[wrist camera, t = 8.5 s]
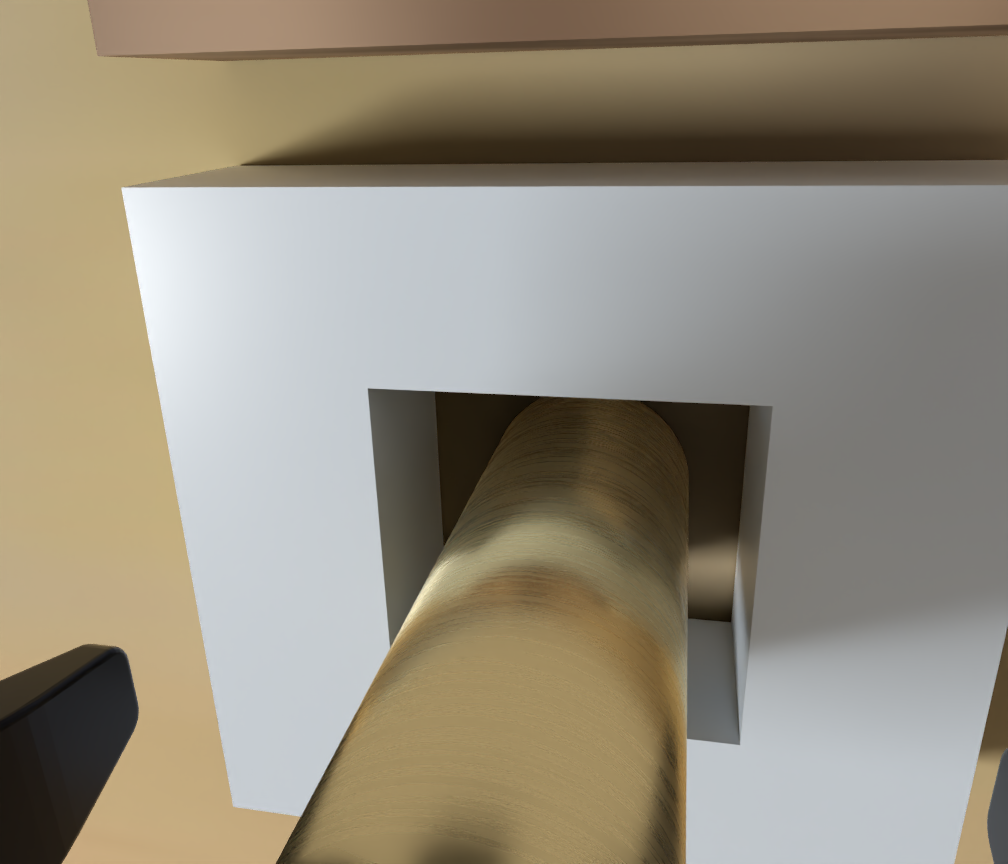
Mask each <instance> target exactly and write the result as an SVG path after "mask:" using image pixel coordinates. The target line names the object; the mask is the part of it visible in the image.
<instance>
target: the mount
mask: <svg viewBox="0 0 1008 864" xmlns="http://www.w3.org/2000/svg"><path fill="white" fill-rule="evenodd" d="M88 5H89V11H90V16H91V22H92V27H93V33H94V39H95V44H96V50H97V55H98V56H110V57H136V58H161V59H187V60H213V61H234V60H264V59H295V58H326V57H356V56H387V55H417V54H448V53H479V52H509V51H540V50H571V49H601V48H632V47H662V46H693V45H724V44H754V43H785V42H816V41H846V40H877V39H907V38H938V37H969V36H999V35H1008V0H88Z"/></svg>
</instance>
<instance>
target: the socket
mask: <svg viewBox="0 0 1008 864" xmlns="http://www.w3.org/2000/svg"><path fill="white" fill-rule="evenodd" d="M122 193H123V199H124V204H125V210H126V216H127V221H128V227H129V232H130V238H131V243H132V249H133V254H134V260H135V265H136V271H137V276H138V282H139V287H140V293H141V299H142V304H143V310H144V315H145V321H146V326H147V332H148V337H149V343H150V348H151V354H152V359H153V365H154V370H155V376H156V381H157V387H158V393H159V398H160V404H161V409H162V415H163V420H164V426H165V431H166V437H167V442H168V448H169V453H170V459H171V464H172V470H173V475H174V481H175V487H176V492H177V498H178V503H179V509H180V514H181V520H182V525H183V531H184V536H185V542H186V547H187V553H188V558H189V564H190V570H191V575H192V581H193V586H194V592H195V597H196V603H197V608H198V614H199V619H200V625H201V630H202V636H203V641H204V647H205V652H206V658H207V664H208V669H209V675H210V680H211V686H212V691H213V697H214V702H215V708H216V713H217V719H218V724H219V730H220V735H221V741H222V747H223V752H224V758H225V763H226V769H227V774H228V780H229V785H230V791H231V796H232V802H233V807H239V808H246V809H252V810H259V811H266V812H273V813H280V814H287V815H294V816H301V815H302V813H303V812H304V810H305V808H306V806H307V804H308V802H309V800H310V798H311V796H312V795H313V793H314V791H315V789H316V787H317V785H318V783H319V781H320V780H321V778H322V776H323V774H324V772H325V770H326V768H327V766H328V764H329V763H330V761H331V759H332V757H333V755H334V753H335V751H336V749H337V748H338V746H339V744H340V742H341V740H342V738H343V736H344V734H345V732H346V731H347V729H348V727H349V725H350V723H351V721H352V719H353V717H354V715H355V714H356V712H357V710H358V708H359V706H360V704H361V702H362V700H363V699H364V697H365V695H366V693H367V691H368V689H369V687H370V685H371V683H372V682H373V680H374V678H375V676H376V674H377V672H378V670H379V668H380V666H381V665H382V663H383V661H384V659H385V657H386V655H387V653H388V651H389V650H390V648H391V646H392V644H393V642H394V640H395V638H396V636H397V634H398V633H399V631H400V629H401V627H402V625H403V623H404V621H405V619H406V618H407V616H408V614H409V612H410V610H411V608H412V606H413V604H414V602H415V601H416V599H417V597H418V595H419V593H420V591H421V589H422V587H423V585H424V584H425V582H426V580H427V578H428V576H429V574H430V572H431V570H432V569H433V567H434V565H435V563H436V561H437V559H438V557H439V555H440V553H441V552H442V550H443V548H444V545H443V528H442V510H441V492H440V474H439V456H438V439H437V421H436V403H435V391H439V392H462V393H484V394H507V395H530V396H553V397H575V398H598V399H621V400H644V401H666V402H689V403H712V404H735V405H750V411H749V422H748V434H747V445H746V457H745V468H744V480H743V492H742V503H741V515H740V526H739V538H738V549H737V561H736V573H735V584H734V596H733V607H732V619H731V622H722V621H711V620H699V619H688V650H687V782H686V864H954V861H955V857H956V853H957V848H958V844H959V839H960V835H961V831H962V826H963V822H964V817H965V813H966V808H967V804H968V800H969V795H970V791H971V786H972V782H973V777H974V773H975V769H976V764H977V760H978V755H979V751H980V746H981V742H982V738H983V733H984V729H985V724H986V720H987V715H988V711H989V707H990V702H991V698H992V693H993V689H994V684H995V680H996V676H997V671H998V667H999V662H1000V658H1001V653H1002V649H1003V645H1004V640H1005V636H1006V631H1007V627H1008V160H920V161H789V162H658V163H527V164H395V165H264V166H232V167H227V168H222V169H216V170H211V171H206V172H201V173H195V174H190V175H185V176H180V177H174V178H169V179H164V180H159V181H153V182H148V183H143V184H138V185H132V186H127V187H122Z"/></svg>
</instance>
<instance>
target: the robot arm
mask: <svg viewBox="0 0 1008 864" xmlns="http://www.w3.org/2000/svg"><path fill="white" fill-rule="evenodd" d="M138 712H139V707H138V701H137V697H136V692H135V688H134V683H133V678H132V674H131V669H130V665H129V660H128V657H127V655H126V653H125V652H124V651H123V650H122V649H120V648H118V647H115V646H106V645H97V644H86V645H82V646H80V647H77V648H75V649H73V650H70V651H68V652H66V653H63V654H61V655H59V656H56V657H54V658H52V659H50V660H47V661H45V662H43V663H40V664H38V665H36V666H33V667H31V668H29V669H26V670H24V671H22V672H20V673H17V674H15V675H13V676H10V677H8V678H6V679H3V680H1V681H0V864H62V862H63V861H64V859H65V857H66V856H67V854H68V852H69V851H70V849H71V847H72V845H73V843H74V842H75V840H76V838H77V836H78V835H79V833H80V831H81V829H82V827H83V825H84V824H85V822H86V820H87V818H88V816H89V814H90V812H91V810H92V809H93V807H94V805H95V803H96V801H97V799H98V797H99V795H100V794H101V792H102V790H103V788H104V786H105V784H106V782H107V780H108V779H109V777H110V775H111V773H112V771H113V769H114V767H115V765H116V764H117V762H118V760H119V758H120V756H121V754H122V752H123V750H124V749H125V747H126V745H127V743H128V741H129V739H130V737H131V735H132V734H133V732H134V729H135V727H136V724H137V720H138ZM987 829H988V838H989V843H990V848H991V852H992V857H993V861H994V864H1008V748H1007V749H1006V750H1005V751H1004V753H1003V755H1002V757H1001V760H1000V765H999V769H998V773H997V777H996V781H995V786H994V790H993V794H992V798H991V802H990V807H989V811H988V820H987Z"/></svg>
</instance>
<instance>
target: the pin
mask: <svg viewBox="0 0 1008 864" xmlns="http://www.w3.org/2000/svg"><path fill="white" fill-rule="evenodd" d="M688 519H689V473H688V467H687V461H686V458H685V455H684V451H683V449H682V447H681V445H680V443H679V440H678V439H677V437H676V435H675V434H674V432H673V431H672V429H671V428H670V427H669V426H668V424H667V423H666V422H665V421H664V420H663V419H662V418H661V417H660V416H659V415H658V414H657V413H656V412H654V411H653V410H652V409H651V408H649V407H648V406H646V405H645V404H643V403H642V402H640V401H638V400H621V399H598V398H575V397H553V396H544V397H542V398H540V399H538V400H537V401H535V402H533V403H532V404H530V405H529V406H528V407H526V408H525V409H524V410H523V411H521V412H520V413H519V414H518V415H517V416H516V418H515V419H514V420H513V421H512V422H511V424H510V425H509V426H508V428H507V429H506V431H505V433H504V435H503V437H502V439H501V440H500V442H499V444H498V446H497V448H496V450H495V452H494V454H493V455H492V457H491V459H490V461H489V463H488V465H487V467H486V469H485V471H484V472H483V474H482V476H481V478H480V480H479V482H478V484H477V486H476V488H475V489H474V491H473V493H472V495H471V497H470V499H469V501H468V503H467V504H466V506H465V508H464V510H463V512H462V514H461V516H460V518H459V520H458V521H457V523H456V525H455V527H454V529H453V531H452V533H451V535H450V536H449V538H448V540H447V542H446V544H445V546H444V548H443V550H442V552H441V553H440V555H439V557H438V559H437V561H436V563H435V565H434V567H433V569H432V570H431V572H430V574H429V576H428V578H427V580H426V582H425V584H424V585H423V587H422V589H421V591H420V593H419V595H418V597H417V599H416V601H415V602H414V604H413V606H412V608H411V610H410V612H409V614H408V616H407V618H406V619H405V621H404V623H403V625H402V627H401V629H400V631H399V633H398V634H397V636H396V638H395V640H394V642H393V644H392V646H391V648H390V650H389V651H388V653H387V655H386V657H385V659H384V661H383V663H382V665H381V666H380V668H379V670H378V672H377V674H376V676H375V678H374V680H373V682H372V683H371V685H370V687H369V689H368V691H367V693H366V695H365V697H364V699H363V700H362V702H361V704H360V706H359V708H358V710H357V712H356V714H355V715H354V717H353V719H352V721H351V723H350V725H349V727H348V729H347V731H346V732H345V734H344V736H343V738H342V740H341V742H340V744H339V746H338V748H337V749H336V751H335V753H334V755H333V757H332V759H331V761H330V763H329V764H328V766H327V768H326V770H325V772H324V774H323V776H322V778H321V780H320V781H319V783H318V785H317V787H316V789H315V791H314V793H313V795H312V796H311V798H310V800H309V802H308V804H307V806H306V808H305V810H304V812H303V813H302V815H301V817H300V819H299V821H298V823H297V825H296V827H295V829H294V830H293V832H292V834H291V836H290V838H289V840H288V842H287V844H286V845H285V847H284V849H283V851H282V853H281V855H280V857H279V859H278V861H277V862H276V864H686V782H687V650H688Z"/></svg>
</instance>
